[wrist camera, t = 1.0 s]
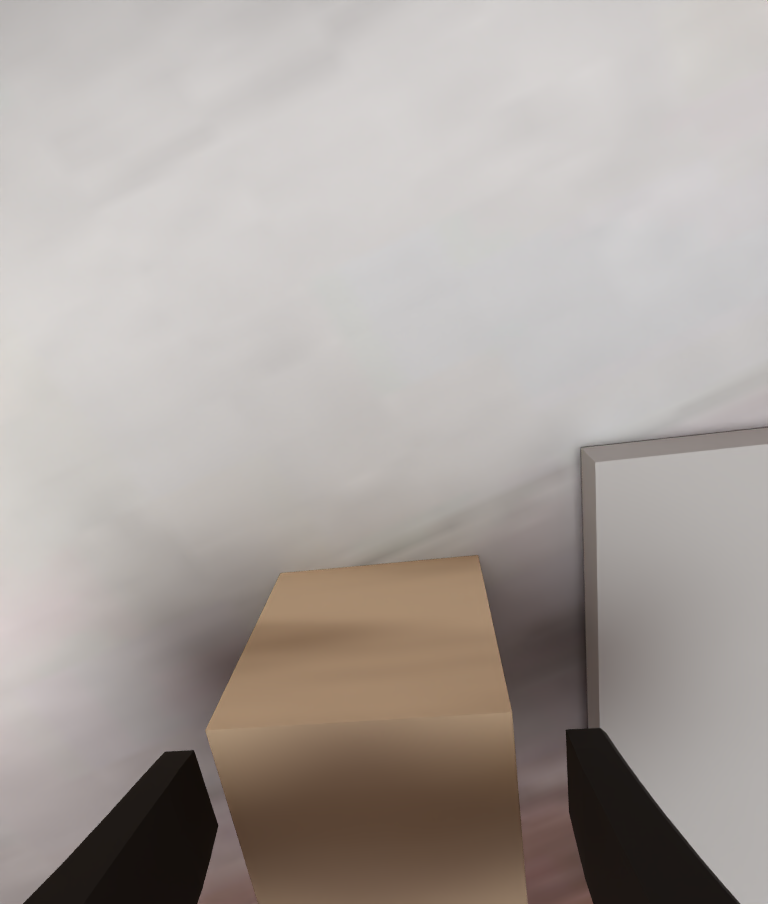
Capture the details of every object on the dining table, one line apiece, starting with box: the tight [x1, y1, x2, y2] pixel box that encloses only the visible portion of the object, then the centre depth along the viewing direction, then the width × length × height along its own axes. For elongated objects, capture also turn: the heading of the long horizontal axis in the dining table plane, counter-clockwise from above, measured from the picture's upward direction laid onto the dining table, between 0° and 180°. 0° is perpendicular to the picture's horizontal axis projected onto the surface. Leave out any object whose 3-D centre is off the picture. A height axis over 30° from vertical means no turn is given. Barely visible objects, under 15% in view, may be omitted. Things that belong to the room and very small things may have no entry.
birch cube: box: [205, 555, 527, 904], centre depth 11 cm, size 5×5×5 cm
